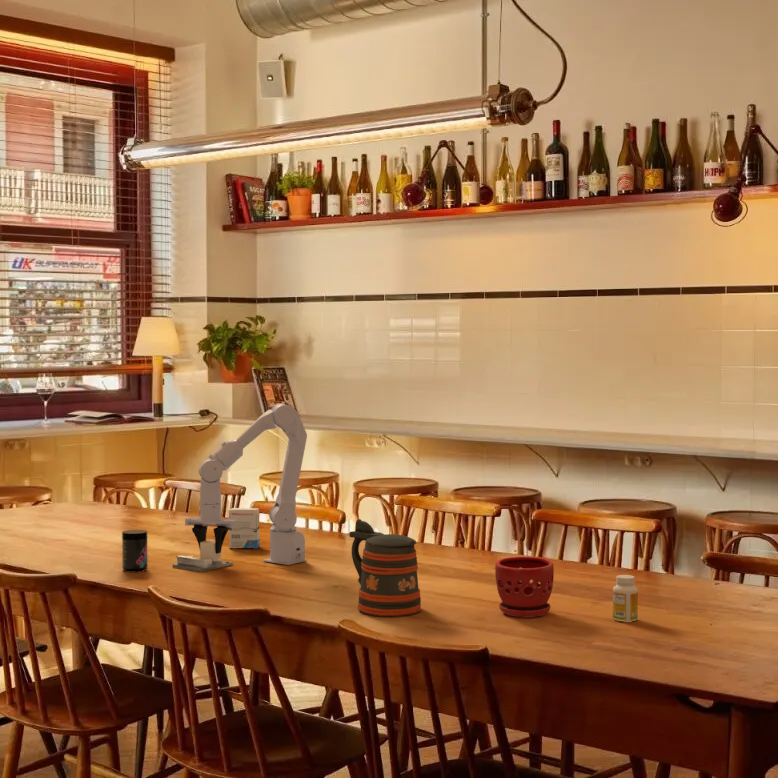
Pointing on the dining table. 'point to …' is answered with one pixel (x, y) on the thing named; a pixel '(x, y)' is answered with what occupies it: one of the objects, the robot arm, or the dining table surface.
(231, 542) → the ink box
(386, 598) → the beer stein
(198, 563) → the rail plate
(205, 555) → the block
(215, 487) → the robot arm
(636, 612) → the supplement bottle
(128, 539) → the supplement container
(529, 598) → the plant pot
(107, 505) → the dining table surface
